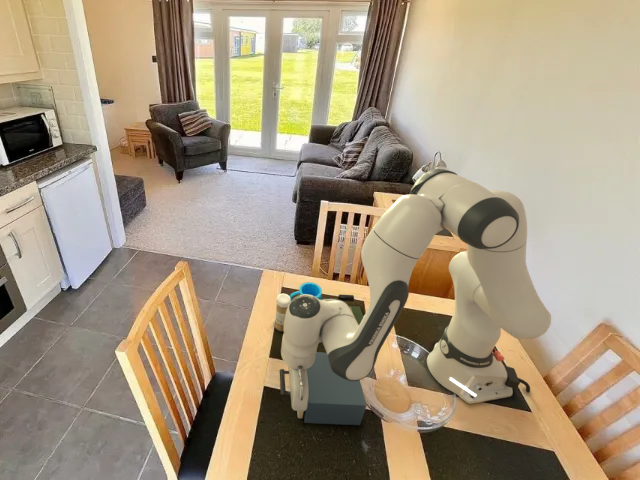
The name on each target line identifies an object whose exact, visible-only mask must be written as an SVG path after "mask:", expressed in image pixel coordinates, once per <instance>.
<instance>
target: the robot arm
mask: <svg viewBox="0 0 640 480" xmlns="http://www.w3.org/2000/svg"><path fill="white" fill-rule="evenodd" d="M444 229H445V230H447V231H448V232H450V233H451V234H453V235H455V236H456V237H458V238H459V240H460V241H461V242H463V243H465V244H466V250H464V251H461V252H459V253H457V254H455V255H454V256H453V257H452V259H451V260H450V262H449V264H448V272H449V274H450V277H451V280H452V284H453V290H454V309H453V310H454V311H453V314H452V317H451V318H450V321H449V324H448V325H447V326H446V327H445V329H444V330H443V333H442V335H441V338H440V339H439V341H438V342H436V343H435V344H434V345H433V346H434V347H433V350H432V351H430V353H429V354H428V355H427V358H426V365H427V368H428V370H429V373H430V374H431V375H432V377H433V378H434V379H435V380H436V381H437V382H438V383H439V384H440V385H441V386H442V387H444V388H445V389H446V390H448V391H450V392H452V393H454V394H455V395H457V396H458V397H459V398H460V399H462V401H464V402H465V403H467V404H468V405H469V404H470V405H472V404H473V405H474V404H479V403H484V402H490V401H495V400H499V399H505V398H511V397H512V396H513V393H514V391H513V390H517V388H519V386H520V384H522V385H524V386H525V391H526V393H528V394H530V393H531V386H530V384H529V383H528V382H527V381H525V380H524V379H522V378H520V377H518V374H517V372H516V370H515V368H514V367H510V366H508V365H504V364H503V361H504V360H505V357H504V355H502V353H501V351H499V350H496V348H495V347H496V345H497V343H498V341H499V340H500V338H501V335H502V330H503V331H504V332H506V333H507V334H509V335H510V336H511V337H513V338H514V339H518V340H534V339H537V338H540V337H541V336H543V335H544V334H546V333H547V332H548V331H549V329H550V328H551V327H550V326H551V323H552V314H551V313H550V311H549V310H548V309H547V307H546V306H545V304H544V303H543V301H542V299H541V297H540V296H539V294H538V292H537V290H536V288H535V285H534V283H533V281H532V278H531V276H530V272H529V269H528V266H527V244H528V243H527V242H528V241H527V240H528V219H527V214H526V210H525V205H524V203H523V201H522V200H521V199H520V198H519V197H518V196H517V195H515V194H513V193H511V192H509V191H505V190H499V189H497V190H488V189H487V188H486V187H484V186H482V185H481V184H479V183H477V182H475V181H472V180H470V179H468V178H465V177H463V176H461V175H458V173H456V172H454V171H451V170H449V169H444V168H433V169H430V170H429V171H427V172H424V173H423V174H422V175H421V176H420V177H419V178H418V179H417V180H416V181H415V182H414V184H413V186H412V187H411V188H410V191H409V193H408V194H404V195H402V196H400V197H399V198H397V199H396V200H395V202H393V203H392V204H391V205H390V206H389V208H387V209H386V211H384V212H383V214H382V215H381V216H380V217H379V219H378V220H377V222H376V223H375V224H374V226H373V227H372V228H371V230H370V232H369V233H368V234H367V236H366V237H365V239H364V241H363V243H362V247H361V250H360V256H361V261H362V262H361V263H362V266H363V269H364V272H365V275H366V278H367V283H368V288H369V296H370V297H369V298H370V300H369V305H368V308H367V310H366V311H365V314H363V319H362V321H361V323H360V325H358V323H357V321H356V319H355V317H354V315H353V313H352V311H351V310H350V308H349V306H350V305H348V303H345V302H344V301H341V300H339V299H338V298H323V299H321V300H319V299H318V298H316V297H315V296H312V295H308V294H303V295H299V294H298V295H295V296H294V297H293V298H292V299H291V302H290V304H289V305H288V308H287V311H286V315H285V320H284V331H283V334H282V339H281V347H280V355H281V359H282V361H283V362H284V364H285V365H287V367H288V371H289V374H288V378H289V390H290V393H291V396H290V403H291V409H292V410H293V411H295V412H297V411H305V410H307V405H308V395H309V388H308V378H307V370H306V369H308V368H310V367H311V366H312V365H313V363H314V361H315V357H316V352H318V347H319V344H320V343H322V345H323V347H324V350H325V353H327V355H328V360H329V363H330V366H331V369H332V371H333V372H334V373H335V374H337V375H338V376H340V377H342V378H344V379H346V380H349V381H359V380H360V381H361V380H363V379H365V378H366V377H369V375H370V374H371V373H372V372H373V370H374V368H375V364H377V363H376V362H377V359H378V356H379V353H380V351H381V348H382V347H383V345H384V343H385V342H386V340H387V339H388V337H389V335H390V333H391V331H392V330H393V328H394V326H395V324H396V322H397V321H398V319H399V318H400V316H401V313H402V312H403V310H404V308H405V306H406V305H407V304H406V303H407V302H408V298H409V295H410V292H409V285H410V280H411V277H412V274H413V271H414V269H415V266H416V265H417V263H418V261H419V260H420V259H421V257H422V256H423V255H424V254H425V252H426V250H427V249H428V247H429V246H430V244H431V243H432V242H433V240H434V238H435V235H436V234H438V233H440V232H441V231H443V230H444Z"/></svg>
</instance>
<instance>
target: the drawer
mask: <svg viewBox="0 0 640 480" xmlns="http://www.w3.org/2000/svg"><path fill="white" fill-rule="evenodd" d="M286 375H289V370H285V369H284V368H280V369H279V388H280V389H279V392H280V397H281V398H286V397H291V392H289V391H287V390H286ZM303 412H304V411H296V413H297V419H303V418H304V413H303Z"/></svg>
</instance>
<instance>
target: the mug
mask: <svg viewBox="0 0 640 480" xmlns="http://www.w3.org/2000/svg"><path fill="white" fill-rule="evenodd" d="M303 294H308V295H312V296H315V297H316V298H318V299H319V300H322V296H323V289H322V288H321V286H320V284H317V283H315V282H311V281H307V282H304V283H302V284H300V286H299V288H298V290H297V291H293V292H292V293H290V295H289V296H290V298H291V299H293V298H294V297H295V296H299V295H303Z"/></svg>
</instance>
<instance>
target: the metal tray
mask: <svg viewBox="0 0 640 480" xmlns="http://www.w3.org/2000/svg"><path fill="white" fill-rule="evenodd" d="M337 300H341V301H343V302H345V303H346V304H348V302H354V301H355V296H354V294H338V297H337ZM349 308H350V310H351V307H349ZM351 311H352V310H351Z"/></svg>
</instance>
